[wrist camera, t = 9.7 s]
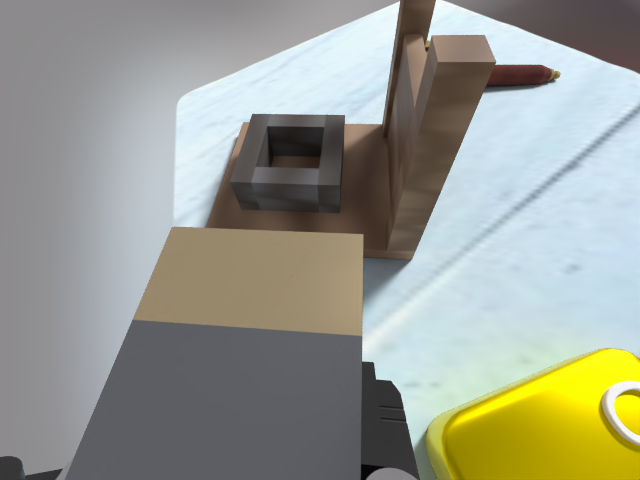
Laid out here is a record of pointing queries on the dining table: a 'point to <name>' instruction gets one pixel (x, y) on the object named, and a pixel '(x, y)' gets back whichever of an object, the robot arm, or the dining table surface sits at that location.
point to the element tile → (547, 425)
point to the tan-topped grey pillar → (237, 364)
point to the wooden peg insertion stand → (363, 150)
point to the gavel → (518, 74)
